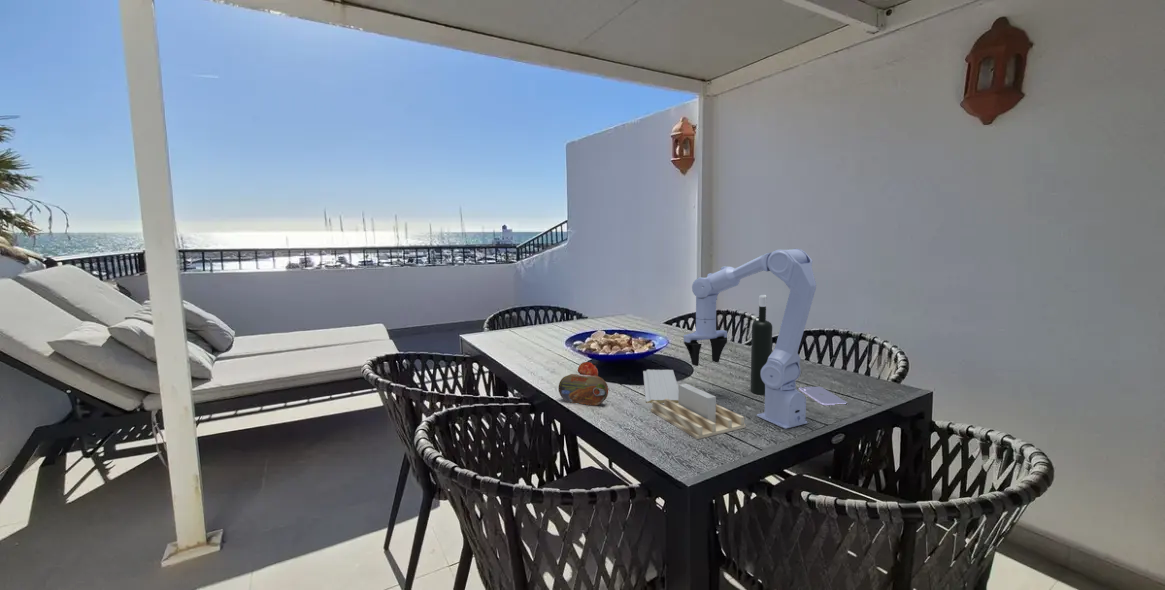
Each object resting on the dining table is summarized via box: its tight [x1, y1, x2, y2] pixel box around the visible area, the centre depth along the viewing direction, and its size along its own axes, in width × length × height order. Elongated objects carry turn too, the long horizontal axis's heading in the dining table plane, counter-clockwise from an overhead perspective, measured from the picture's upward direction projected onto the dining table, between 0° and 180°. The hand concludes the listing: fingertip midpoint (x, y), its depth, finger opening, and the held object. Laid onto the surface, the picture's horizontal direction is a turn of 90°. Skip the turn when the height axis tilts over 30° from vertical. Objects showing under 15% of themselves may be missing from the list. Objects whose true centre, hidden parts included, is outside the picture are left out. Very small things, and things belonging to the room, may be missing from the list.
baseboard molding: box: [642, 365, 679, 404], centre depth 147 cm, size 31×3×12 cm
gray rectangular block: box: [678, 383, 717, 424], centre depth 118 cm, size 12×2×7 cm, turn 24°
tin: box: [558, 373, 609, 407], centre depth 132 cm, size 15×3×8 cm, turn 68°
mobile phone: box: [798, 386, 848, 406], centre depth 134 cm, size 8×1×15 cm
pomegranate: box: [577, 361, 599, 377], centre depth 152 cm, size 7×7×10 cm
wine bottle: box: [749, 294, 773, 396], centre depth 137 cm, size 6×6×30 cm
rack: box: [650, 399, 747, 440], centre depth 119 cm, size 20×15×3 cm
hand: (705, 363), depth 134 cm, fingers open, 7 cm apart
